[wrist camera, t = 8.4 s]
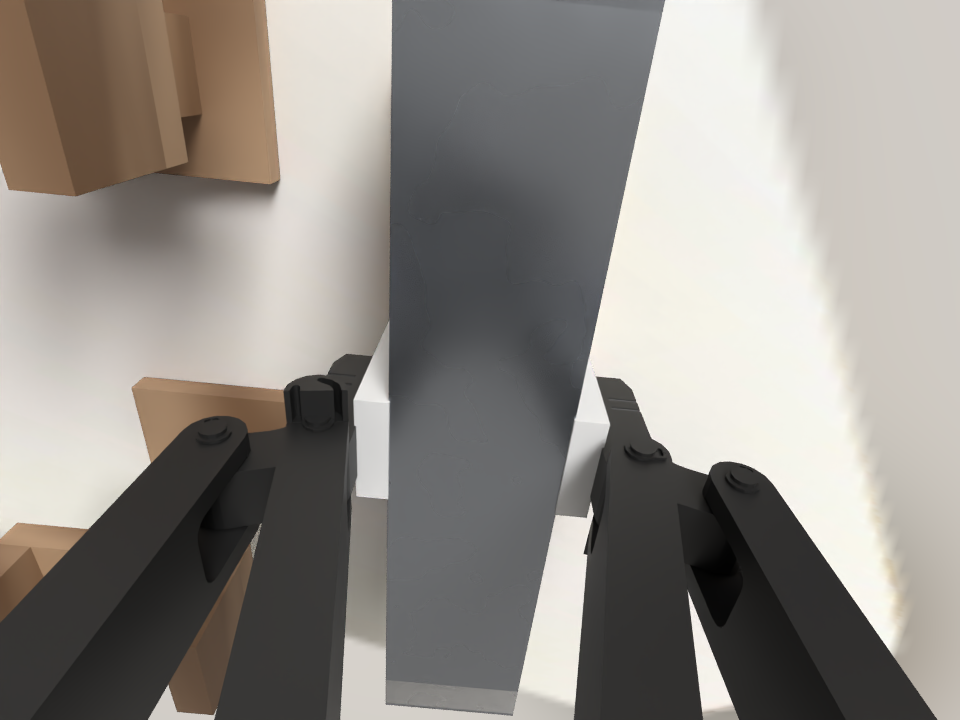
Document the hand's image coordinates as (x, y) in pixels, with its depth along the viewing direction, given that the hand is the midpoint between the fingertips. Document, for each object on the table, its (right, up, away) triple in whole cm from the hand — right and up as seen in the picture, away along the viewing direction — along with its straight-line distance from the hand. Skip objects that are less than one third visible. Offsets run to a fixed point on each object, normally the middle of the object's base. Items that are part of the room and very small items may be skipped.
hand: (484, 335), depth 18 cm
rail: (0, -1, -2) cm, 2 cm away
